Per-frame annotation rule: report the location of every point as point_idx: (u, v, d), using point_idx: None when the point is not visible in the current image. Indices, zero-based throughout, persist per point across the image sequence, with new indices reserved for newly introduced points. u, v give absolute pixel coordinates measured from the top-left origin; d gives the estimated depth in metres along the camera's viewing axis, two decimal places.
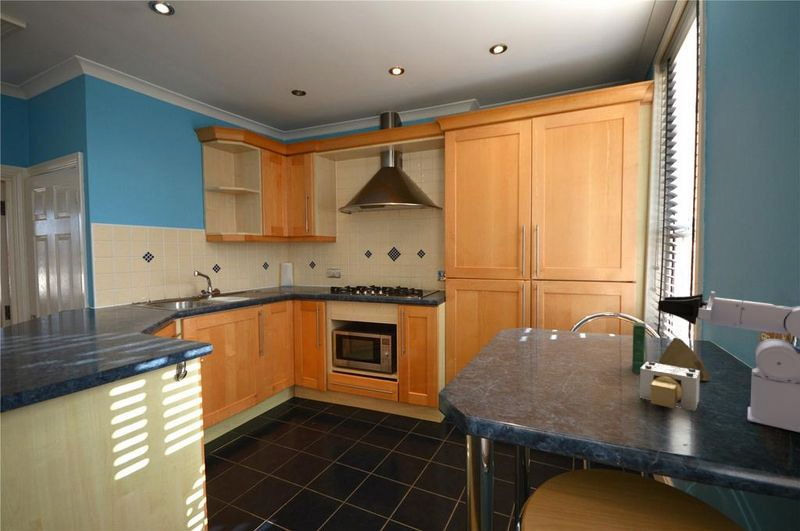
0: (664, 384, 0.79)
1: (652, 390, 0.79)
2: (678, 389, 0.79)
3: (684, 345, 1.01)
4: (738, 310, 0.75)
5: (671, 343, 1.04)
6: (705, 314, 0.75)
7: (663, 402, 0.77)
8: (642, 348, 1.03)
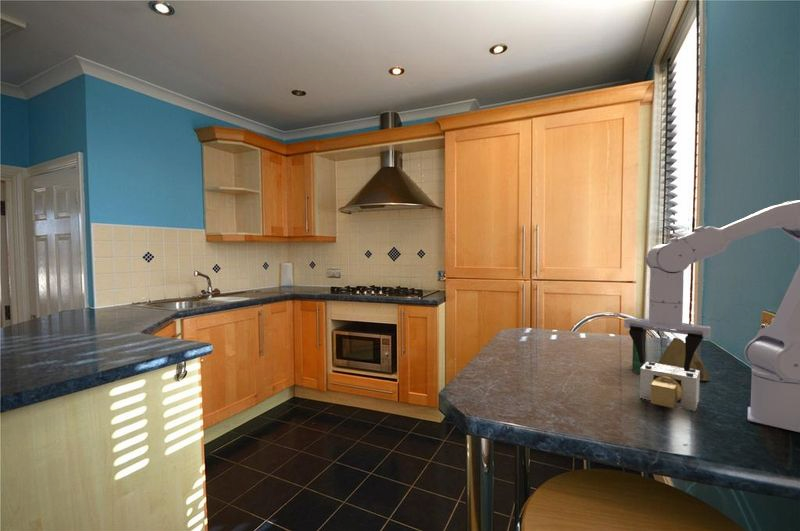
0: (664, 384, 0.79)
1: (652, 390, 0.79)
2: (678, 389, 0.79)
3: (684, 345, 1.01)
4: (680, 305, 0.75)
5: (671, 343, 1.04)
6: None
7: (663, 402, 0.77)
8: None
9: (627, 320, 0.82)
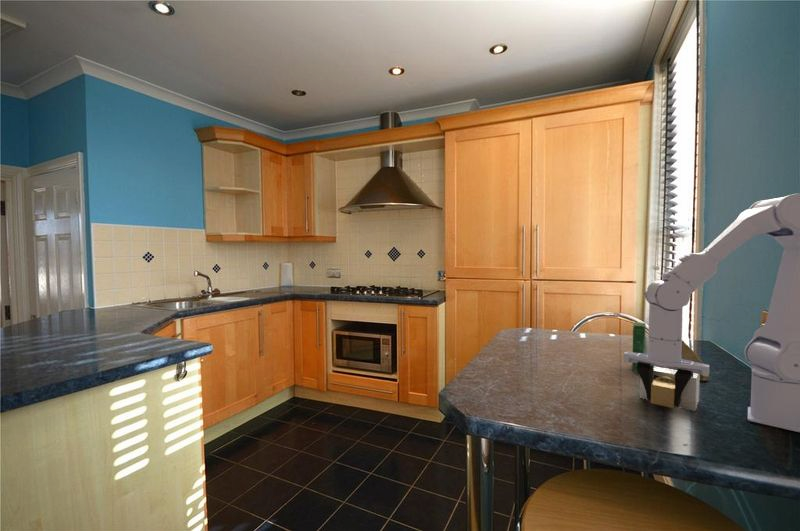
0: (664, 384, 0.79)
1: (652, 390, 0.79)
2: None
3: (684, 345, 1.01)
4: (679, 342, 0.75)
5: None
6: None
7: (663, 402, 0.77)
8: (642, 348, 1.03)
9: (626, 354, 0.82)
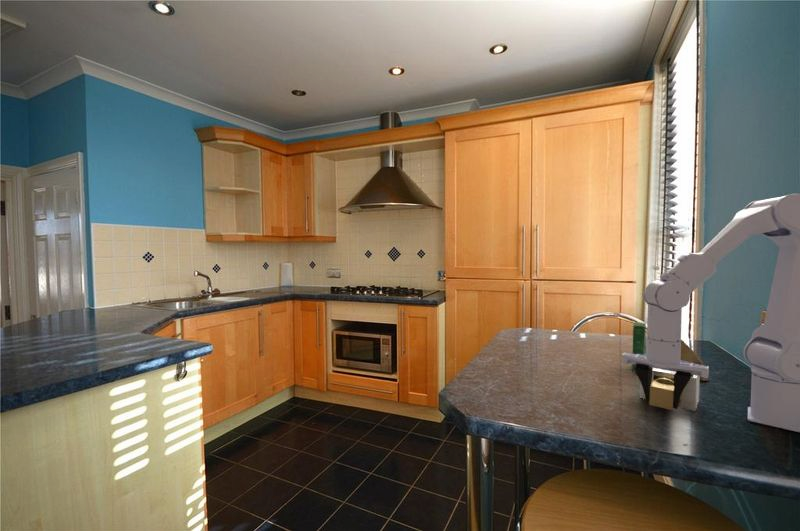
0: (663, 386, 0.78)
1: (651, 392, 0.78)
2: None
3: (684, 345, 1.01)
4: (678, 343, 0.74)
5: None
6: (708, 371, 0.72)
7: (662, 404, 0.76)
8: (642, 348, 1.03)
9: (625, 356, 0.81)
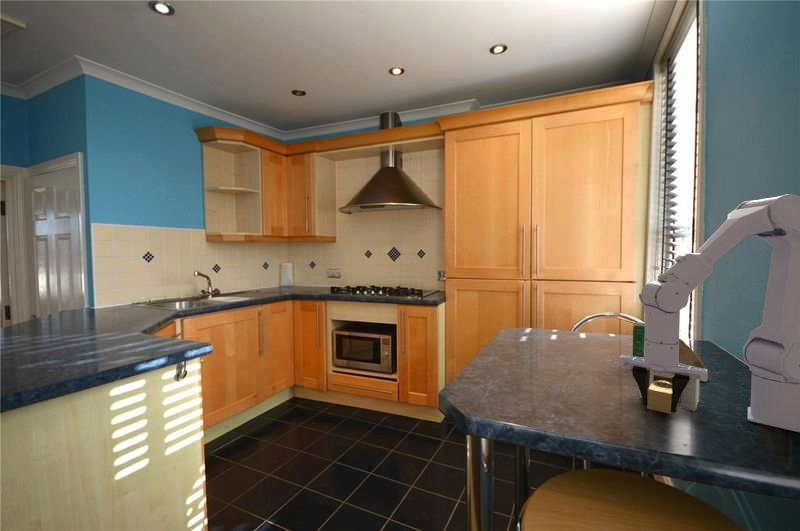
0: (661, 389, 0.76)
1: (648, 395, 0.76)
2: None
3: (684, 345, 1.01)
4: (676, 346, 0.73)
5: None
6: (707, 374, 0.70)
7: (660, 407, 0.75)
8: (642, 348, 1.03)
9: (622, 358, 0.79)
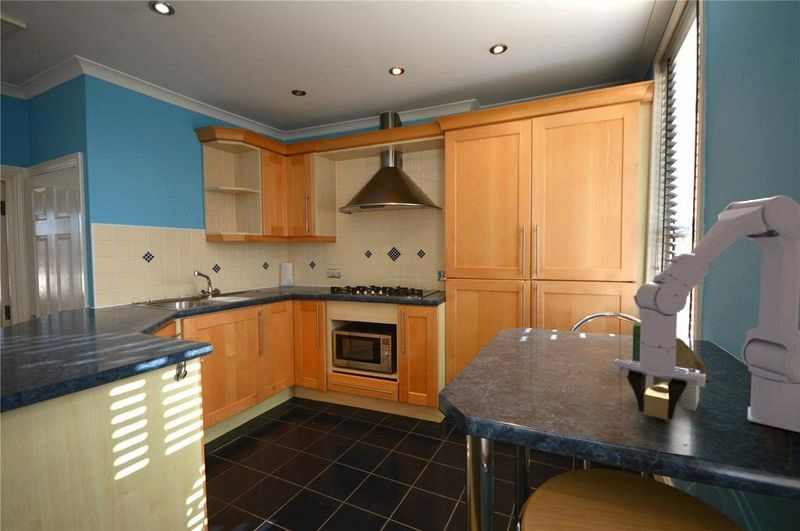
0: (658, 394, 0.73)
1: (645, 400, 0.73)
2: None
3: (684, 345, 1.01)
4: (673, 350, 0.70)
5: None
6: (705, 379, 0.67)
7: (657, 413, 0.72)
8: None
9: (617, 362, 0.76)
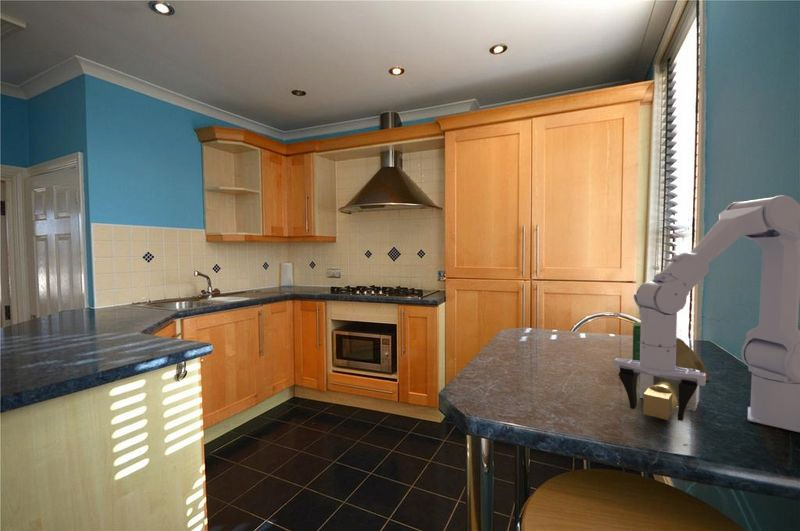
0: (658, 394, 0.73)
1: (645, 400, 0.73)
2: (673, 399, 0.74)
3: (684, 345, 1.01)
4: (673, 349, 0.70)
5: None
6: (705, 378, 0.67)
7: (657, 413, 0.72)
8: None
9: (617, 361, 0.76)
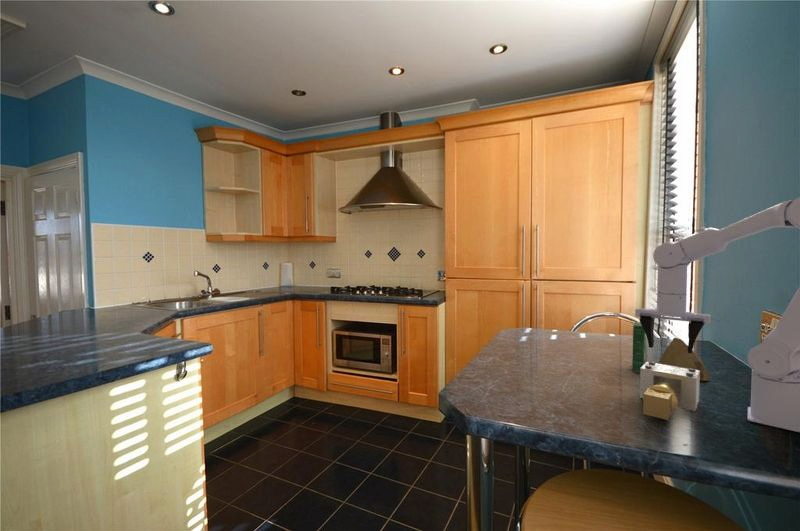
0: (658, 394, 0.73)
1: (645, 400, 0.73)
2: (673, 399, 0.74)
3: (684, 345, 1.01)
4: (684, 296, 0.87)
5: (671, 343, 1.04)
6: None
7: (657, 413, 0.72)
8: (642, 348, 1.03)
9: (638, 310, 0.94)
